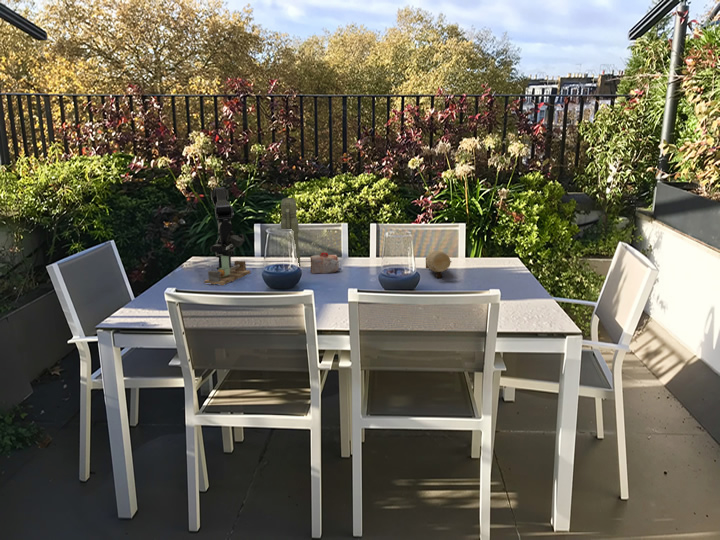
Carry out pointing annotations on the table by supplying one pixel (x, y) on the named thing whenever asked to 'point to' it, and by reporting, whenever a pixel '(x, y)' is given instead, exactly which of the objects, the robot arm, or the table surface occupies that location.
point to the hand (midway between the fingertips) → (228, 262)
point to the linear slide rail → (235, 273)
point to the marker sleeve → (225, 265)
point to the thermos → (290, 219)
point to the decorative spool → (438, 262)
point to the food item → (324, 263)
